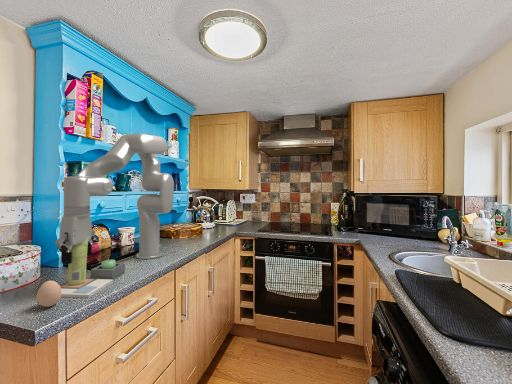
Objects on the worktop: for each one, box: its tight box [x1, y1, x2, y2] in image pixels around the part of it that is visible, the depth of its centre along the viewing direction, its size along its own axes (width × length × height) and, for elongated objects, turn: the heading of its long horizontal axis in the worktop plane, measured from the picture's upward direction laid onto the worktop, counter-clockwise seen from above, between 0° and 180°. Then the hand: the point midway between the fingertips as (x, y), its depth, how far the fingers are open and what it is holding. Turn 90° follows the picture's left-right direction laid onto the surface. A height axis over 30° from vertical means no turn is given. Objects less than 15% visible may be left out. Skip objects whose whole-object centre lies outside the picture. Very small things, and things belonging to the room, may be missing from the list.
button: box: [101, 259, 117, 269], centre depth 99 cm, size 5×5×4 cm
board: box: [59, 277, 114, 299], centre depth 87 cm, size 13×14×1 cm
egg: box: [36, 280, 62, 308], centre depth 75 cm, size 6×6×8 cm
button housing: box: [90, 262, 126, 281], centre depth 99 cm, size 8×8×4 cm
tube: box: [66, 237, 88, 285], centre depth 89 cm, size 6×5×20 cm
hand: (77, 259), depth 89 cm, fingers open, 9 cm apart
